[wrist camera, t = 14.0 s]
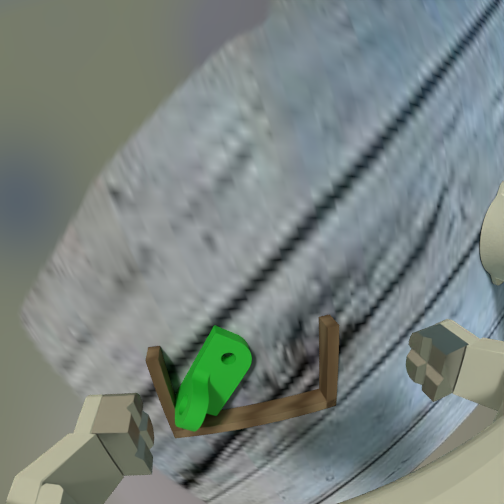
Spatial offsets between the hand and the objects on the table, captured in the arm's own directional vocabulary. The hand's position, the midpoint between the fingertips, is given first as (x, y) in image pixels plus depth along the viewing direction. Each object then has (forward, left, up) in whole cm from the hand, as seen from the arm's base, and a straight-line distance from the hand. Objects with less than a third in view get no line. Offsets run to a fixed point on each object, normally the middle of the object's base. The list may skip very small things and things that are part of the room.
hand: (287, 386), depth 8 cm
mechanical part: (+3, +19, -27) cm, 33 cm away
